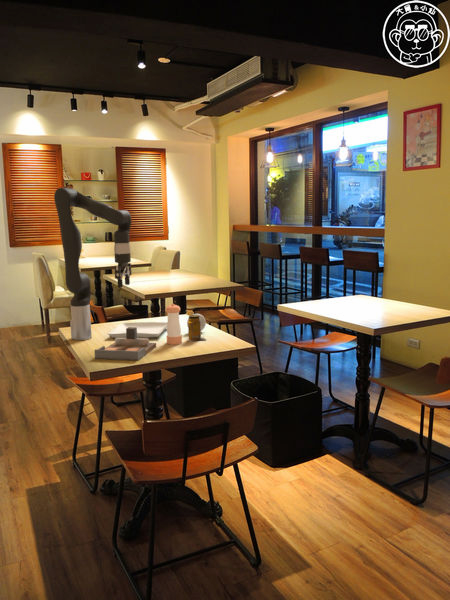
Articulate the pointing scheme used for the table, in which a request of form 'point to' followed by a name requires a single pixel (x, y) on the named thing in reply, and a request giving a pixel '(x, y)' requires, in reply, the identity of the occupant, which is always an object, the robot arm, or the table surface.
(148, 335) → the square plate
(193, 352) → the table surface
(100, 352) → the box
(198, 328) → the condiment
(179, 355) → the table surface
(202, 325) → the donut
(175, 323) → the pepper shaker
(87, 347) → the table surface
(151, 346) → the board
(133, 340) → the gray bar with block
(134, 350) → the tile right
